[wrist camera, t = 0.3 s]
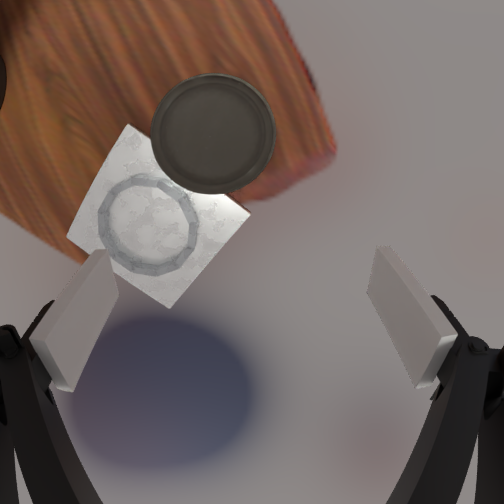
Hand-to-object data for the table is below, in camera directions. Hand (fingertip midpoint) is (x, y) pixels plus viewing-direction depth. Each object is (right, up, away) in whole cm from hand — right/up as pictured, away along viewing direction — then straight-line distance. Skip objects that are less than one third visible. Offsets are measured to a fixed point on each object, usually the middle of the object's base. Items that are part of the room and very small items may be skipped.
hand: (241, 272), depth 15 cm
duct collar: (-14, +5, +27) cm, 31 cm away
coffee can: (-3, +17, +22) cm, 28 cm away
